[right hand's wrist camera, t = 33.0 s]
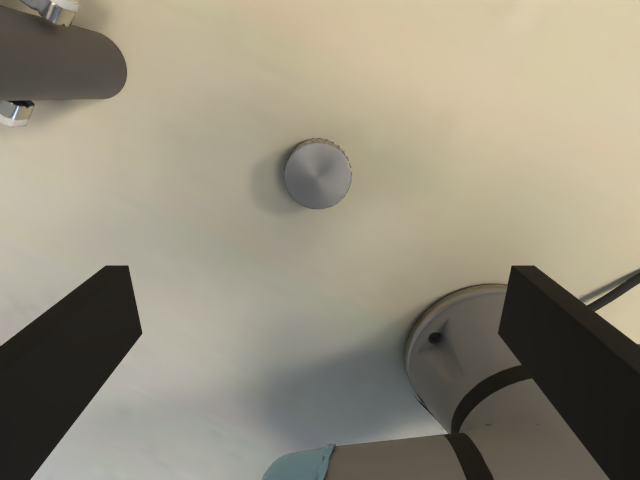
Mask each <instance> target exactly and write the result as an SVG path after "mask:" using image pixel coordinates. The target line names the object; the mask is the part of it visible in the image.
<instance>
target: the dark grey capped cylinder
mask: <svg viewBox="0 0 640 480" xmlns="http://www.w3.org/2000/svg"><path fill="white" fill-rule="evenodd" d="M126 76H127V69H126V63H125V60H124V57H123V55H122V53H121V51H120V50H119V48H118V47H117V46H116V45H115V44H114V43H113V42H112V41H111V40H110V39H109V38H107V37H106V36H104V35H102V34H100V33H97V32H94V31H90V30H87V29H83V28H79V27H76V26H72V25H70V27H69V28H67V27H65V26H63V25H56V24H54V23H52V22H50V21H48V20H47V19H45V18H43V17H39V16H36V15H32V14H29V13H25V12H21V11H18V10H14V9H10V8H7V7H3V6H0V101H21V100H64V99H104V98H110V97H112V96H115V95H116V94H117V93H119V92H120V91H121V89H122V88H123V86H124V84H125V81H126Z"/></svg>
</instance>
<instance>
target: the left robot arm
mask: <svg viewBox="0 0 640 480" xmlns="http://www.w3.org/2000/svg"><path fill="white" fill-rule="evenodd" d="M21 1H22V2H23V3H25V4H26V5H27V6H29V7H30V8H31V9H34V10H37V11H38V12H39V14H40V15H41V16H42V17H44V18H45V19H47V20H48V21H50V22H52V23H54V24H56V25H63V26H65V27H67V28H69V27H70V25H71V23H72V21H73V19H74V16H75V14H76V12H77V10H78V8H79V5H80V4H79V3H78V2H77V1H76V0H21ZM34 106H35V104H34V103H33V102H32V101H30V100H21V101H0V123H2V124H4V125H7V126H10V127H17V126H26V124H27V122H28V120H29V118H30V115H31V113H32V111H33V109H34Z"/></svg>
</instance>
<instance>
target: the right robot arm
mask: <svg viewBox="0 0 640 480" xmlns="http://www.w3.org/2000/svg"><path fill="white" fill-rule="evenodd" d="M639 283H640V273H639V274H637V275H635V276H633V277H632V278H630V279H628V280H627V281H625V282H624V283H622V284H621V285H619V286H618V287H616V288H615V289H614V290H612V291H611V292H609V293H607V294H606V295H604V296H603V297H601V298H599V299H598V300H596V301H594V302H593V303H591V304H589V305H587V306H586V305H585V304H584V303H582V302H581V301H580V300H578V299H577V298H576V297H574V296H573V295H572V294H571V293H569V292H568V291H567V290H565V289H564V288H563V287H561V286H560V285H559V284H557V283H556V282H555V281H554V280H552V279H551V278H550V277H548V276H547V275H546V274H544V273H543V272H542V271H541V270H539V269H538V268H537V267H535V266H512V267H511V272H510V277H509V281H508V285H502V284H487V285H479V286H473V287H469V288H465V289H462V290H460V291H457V292H455V293H452V294H450V295H448V296H446V297H444V298H443V299H441V300H440V301H438V302H437V303H435V304H434V305H433V306H431V307H430V308H429V309H428V310H427V311H426V312H425V313H424V314H423V315H422V316H421V317H420V318H419V319H418V321H417V322H416V323H415V325H414V327H413V328H412V330H411V332H410V334H409V336H408V339H407V342H406V346H405V354H404V355H405V366H406V370H407V373H408V376H409V380H410V383H411V385H412V387H413V389H414V391H415V393H416V394H417V396H418V397H419V399H420V400H421V401H422V403H423V404H424V405H425V406H426V407H427V408H426V407H425V406H424V405H423V404H422V403H421V402H420V401H419V400H418V399H417V398H416V399H417V400H418V401H419V402H420V404H421V405H422V406H423V407H424V408H425V409H426V410H427V411H428V412H429V413H430V414H431V415H432V416H433V417H434V418H435V419H436V420H437V421H438V422H439V423H440V424H441V425H442V427H443V428H444V429H445V430H446V431H447V433H448V434H445V435H435V436H426V437H417V438H408V439H399V440H390V441H381V442H372V443H362V444H353V445H344V446H336V444H329V445H328V446H327V447H326V448H322V449H316V450H310V451H304V452H298V453H292V454H288V455H285V456H282V457H280V458H279V459H277V460H276V461H275V462H274V463H273V464H272V465H271V466H270V467H269V468H268V470H267V471H266V473H265V474H264V476H263V478H262V480H640V344H636V343H635V342H633V341H632V340H631V339H629V338H628V337H627V336H625V335H624V334H623V333H622V332H620V331H619V330H618V329H616V328H615V327H614V326H612V325H611V324H610V323H608V322H607V321H606V320H605V319H603V318H602V317H601V316H599V315H598V314H597V313H595V311H596V310H598V309H600V308H601V307H603V306H605V305H607V304H608V303H610V302H612V301H613V300H615V299H616V298H618V297H619V296H621V295H622V294H624V293H625V292H627V291H628V290H630V289H631V288H633V287H634V286H636V285H637V284H639ZM141 335H142V329H141V324H140V320H139V315H138V310H137V305H136V301H135V296H134V291H133V286H132V281H131V277H130V272H129V267H128V266H105V267H103V268H102V269H101V270H99V271H98V272H97V273H96V274H94V275H93V276H92V277H90V278H89V279H88V280H86V281H85V282H84V283H83V284H81V285H80V286H79V287H77V288H76V289H75V290H73V291H72V292H71V293H69V294H68V295H67V296H66V297H64V298H63V299H62V300H60V301H59V302H58V303H56V304H55V305H54V306H52V307H51V308H50V309H49V310H47V311H46V312H45V313H43V314H42V315H41V316H39V317H38V318H37V319H35V320H34V321H33V322H32V323H30V324H29V325H28V326H26V327H25V328H24V329H22V330H21V331H20V332H18V333H17V334H16V335H15V336H13V337H12V338H11V339H9V340H8V341H7V342H5V343H4V344H3V345H1V346H0V480H30V479H31V478H32V477H33V475H34V474H35V473H36V472H37V470H38V469H39V468H40V466H41V465H42V464H43V462H44V461H45V460H46V459H47V457H48V456H49V455H50V453H51V452H52V451H53V449H54V448H55V447H56V445H57V444H58V443H59V442H60V440H61V439H62V438H63V436H64V435H65V434H66V432H67V431H68V430H69V429H70V427H71V426H72V425H73V423H74V422H75V421H76V419H77V418H78V417H79V415H80V414H81V413H82V412H83V410H84V409H85V408H86V406H87V405H88V404H89V402H90V401H91V400H92V398H93V397H94V396H95V395H96V393H97V392H98V391H99V389H100V388H101V387H102V385H103V384H104V383H105V382H106V380H107V379H108V378H109V376H110V375H111V374H112V372H113V371H114V370H115V368H116V367H117V366H118V365H119V363H120V362H121V361H122V359H123V358H124V357H125V355H126V354H127V353H128V352H129V350H130V349H131V348H132V346H133V345H134V344H135V342H136V341H137V340H138V338H139V337H140V336H141Z"/></svg>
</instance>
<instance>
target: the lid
mask: <svg viewBox="0 0 640 480" xmlns="http://www.w3.org/2000/svg"><path fill="white" fill-rule="evenodd" d="M348 162H349V160H348V158H347V156H345V153H344V151H342V150H341V149H340V147H339V146H337V145H335V144H334V142H330V141H328V140H327V139H326V140H323V139H321V138H319V139H314V138H312V140H308V141H307V140H306V141H305V142H303V143H302V144H301V143H300V144H299V146H298V147H296V148H294V150H293V152H292V153H290V155H289V159H287V161H286V166H285V168H284V181H285V185H286V188H287V190H288V192H289V194H290V195H291V197H292V198H293V199H294V200H295V201H296V202H297V203H299V204H301V205H302V206H304V207H307V208H311V209H325V208H328V207H331V206H333V205H335V204H337V203H338V202H339V201H340V200H341V199H342V198H343V197H344V196H345V195H346V193H347V191H348V189H349V187H350V183H351V175H352V173H351V169H350V168H351V166H350V164H349V163H348Z"/></svg>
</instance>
